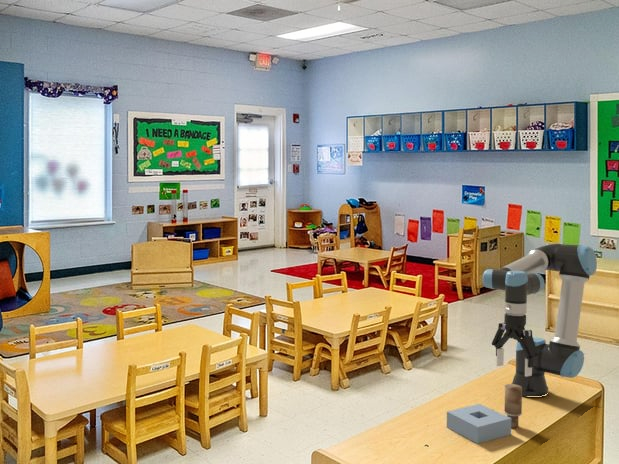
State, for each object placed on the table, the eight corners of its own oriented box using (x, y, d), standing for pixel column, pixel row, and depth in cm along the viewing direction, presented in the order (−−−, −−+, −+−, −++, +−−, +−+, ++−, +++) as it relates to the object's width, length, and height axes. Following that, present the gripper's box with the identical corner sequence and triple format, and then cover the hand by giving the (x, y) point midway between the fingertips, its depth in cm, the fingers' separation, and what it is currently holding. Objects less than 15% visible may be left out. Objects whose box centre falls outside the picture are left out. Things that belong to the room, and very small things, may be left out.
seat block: (479, 418, 236) (479, 403, 235) (511, 434, 222) (511, 418, 221) (446, 427, 228) (446, 411, 228) (477, 443, 214) (477, 427, 214)
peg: (512, 421, 233) (513, 383, 232) (524, 427, 228) (526, 387, 226) (500, 424, 230) (501, 385, 229) (512, 430, 225) (513, 390, 223)
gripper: (483, 308, 234) (481, 362, 236) (535, 321, 212) (533, 382, 214) (497, 306, 238) (496, 360, 239) (550, 319, 216) (548, 378, 218)
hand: (513, 370), depth 227 cm, fingers open, 13 cm apart
